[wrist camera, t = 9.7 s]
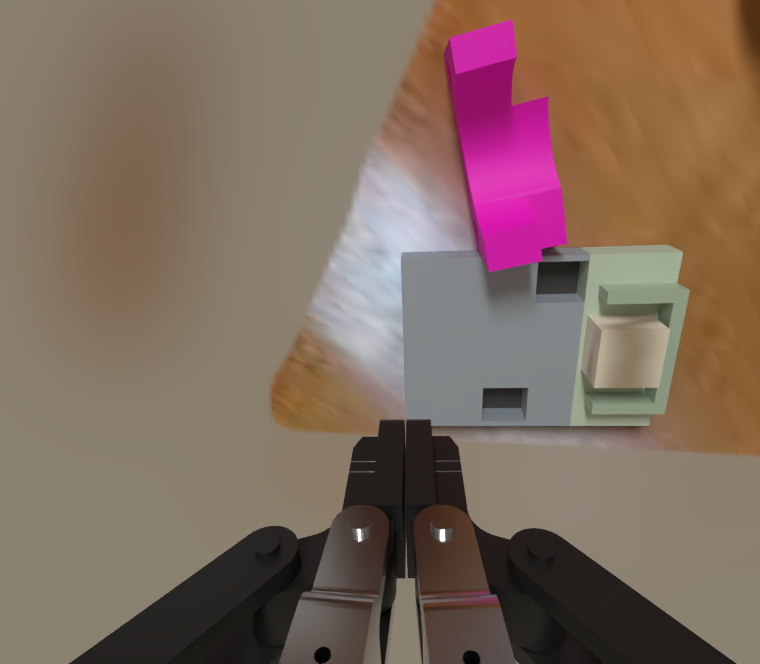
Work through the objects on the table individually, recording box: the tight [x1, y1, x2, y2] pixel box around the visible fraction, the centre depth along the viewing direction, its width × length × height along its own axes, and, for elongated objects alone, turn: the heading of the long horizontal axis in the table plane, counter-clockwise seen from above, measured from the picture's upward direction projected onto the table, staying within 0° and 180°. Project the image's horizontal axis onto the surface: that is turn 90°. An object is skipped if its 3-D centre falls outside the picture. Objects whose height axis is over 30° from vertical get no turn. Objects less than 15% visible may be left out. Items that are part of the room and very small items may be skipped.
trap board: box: [401, 245, 690, 426], centre depth 42 cm, size 22×16×4 cm
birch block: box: [581, 313, 670, 388], centre depth 40 cm, size 5×5×4 cm
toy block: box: [444, 20, 567, 272], centre depth 35 cm, size 15×6×8 cm, turn 14°
